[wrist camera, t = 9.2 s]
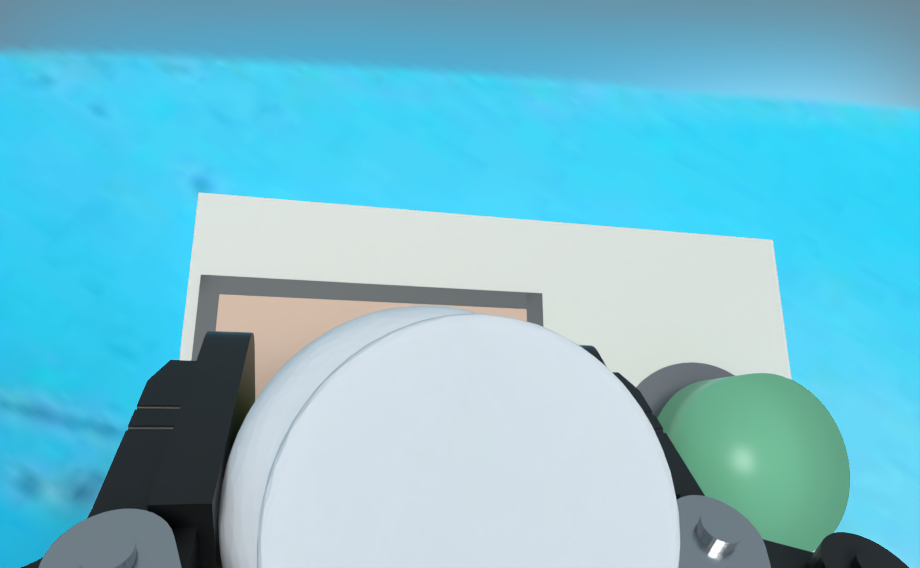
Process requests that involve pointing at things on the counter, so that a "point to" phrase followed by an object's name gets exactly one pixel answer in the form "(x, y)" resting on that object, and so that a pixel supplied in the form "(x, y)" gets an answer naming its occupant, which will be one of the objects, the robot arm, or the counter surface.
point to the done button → (763, 453)
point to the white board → (487, 284)
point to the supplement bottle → (446, 454)
